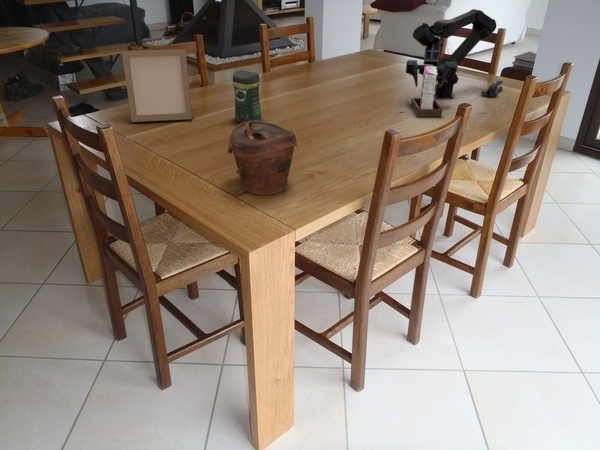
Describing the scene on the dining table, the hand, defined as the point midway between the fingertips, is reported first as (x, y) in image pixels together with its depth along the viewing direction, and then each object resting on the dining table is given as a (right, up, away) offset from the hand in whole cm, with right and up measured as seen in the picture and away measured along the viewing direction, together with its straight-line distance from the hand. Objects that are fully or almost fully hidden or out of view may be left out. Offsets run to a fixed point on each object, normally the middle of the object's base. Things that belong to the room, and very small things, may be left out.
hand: (428, 87), depth 195 cm
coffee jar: (-69, -15, -7) cm, 71 cm away
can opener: (+35, +4, +24) cm, 43 cm away
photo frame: (-102, -12, -3) cm, 103 cm away
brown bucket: (-60, -42, -51) cm, 90 cm away
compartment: (0, -9, +3) cm, 9 cm away
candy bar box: (0, -9, +4) cm, 9 cm away
